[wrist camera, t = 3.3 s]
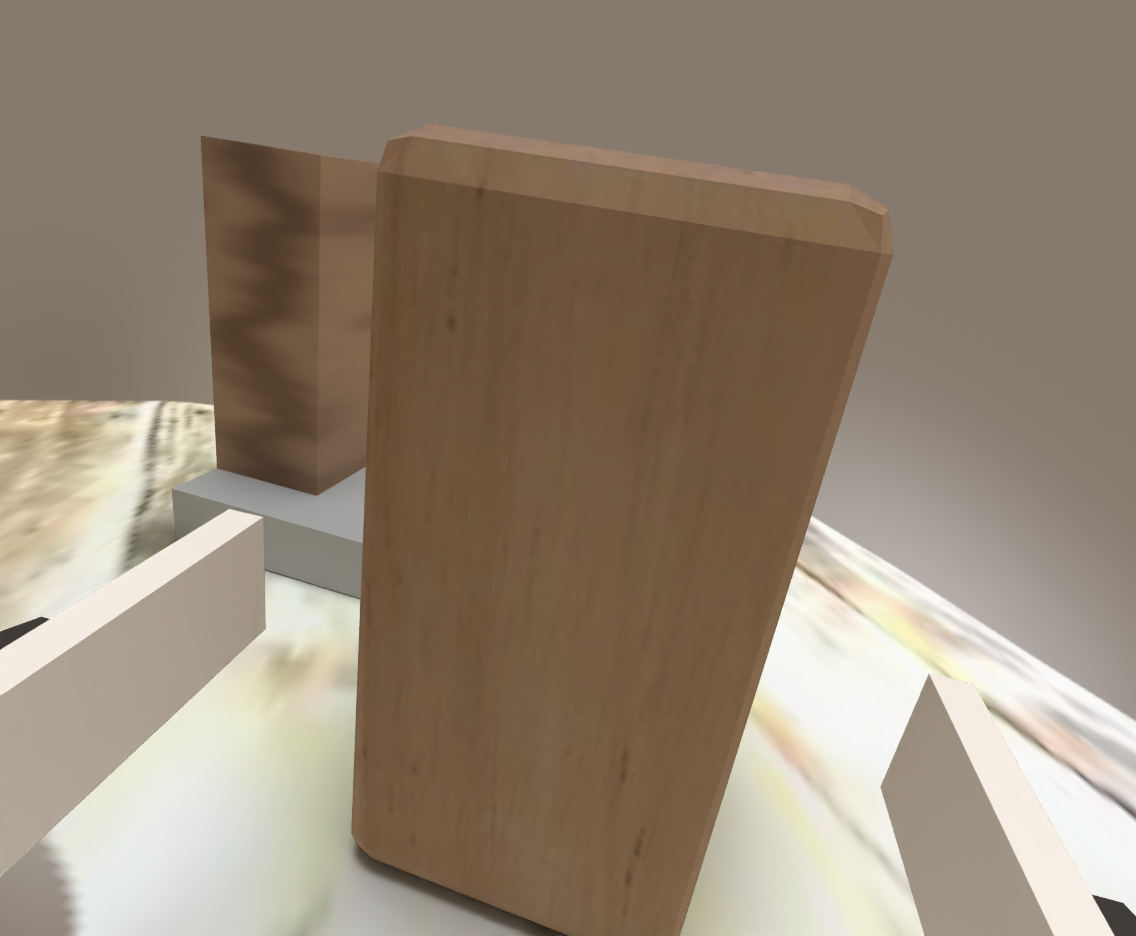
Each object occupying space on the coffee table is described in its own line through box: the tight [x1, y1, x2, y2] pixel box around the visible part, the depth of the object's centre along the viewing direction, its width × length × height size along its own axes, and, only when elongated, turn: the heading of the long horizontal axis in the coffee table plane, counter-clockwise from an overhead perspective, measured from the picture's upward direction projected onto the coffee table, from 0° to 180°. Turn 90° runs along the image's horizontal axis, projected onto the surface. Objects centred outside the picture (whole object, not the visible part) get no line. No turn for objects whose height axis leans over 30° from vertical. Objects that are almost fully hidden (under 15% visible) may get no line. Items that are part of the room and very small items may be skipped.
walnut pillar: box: [201, 136, 380, 496], centre depth 35 cm, size 6×6×16 cm
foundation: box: [172, 467, 366, 599], centre depth 37 cm, size 24×12×3 cm, turn 74°
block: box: [351, 124, 893, 936], centre depth 20 cm, size 10×10×20 cm
